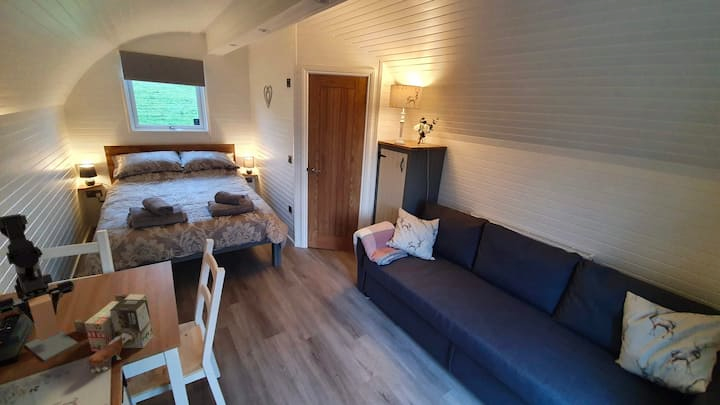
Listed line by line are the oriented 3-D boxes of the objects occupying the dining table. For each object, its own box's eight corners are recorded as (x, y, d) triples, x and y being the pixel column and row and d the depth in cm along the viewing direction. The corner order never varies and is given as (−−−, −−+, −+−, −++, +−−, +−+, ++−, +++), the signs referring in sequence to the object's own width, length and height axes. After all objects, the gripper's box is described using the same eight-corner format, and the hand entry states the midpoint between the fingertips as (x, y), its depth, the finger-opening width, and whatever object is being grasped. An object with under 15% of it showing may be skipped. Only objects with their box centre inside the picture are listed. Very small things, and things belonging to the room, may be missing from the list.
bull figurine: (137, 350, 110) (133, 331, 107) (95, 379, 97) (90, 358, 95) (128, 346, 111) (124, 327, 108) (86, 375, 99) (80, 354, 96)
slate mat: (25, 345, 108) (25, 344, 108) (58, 330, 116) (58, 329, 116) (44, 361, 103) (44, 359, 103) (78, 343, 111) (77, 342, 110)
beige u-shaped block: (76, 331, 116) (73, 321, 115) (119, 302, 134) (117, 293, 132) (96, 334, 115) (94, 324, 114) (137, 305, 133) (135, 296, 131)
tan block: (37, 334, 108) (27, 299, 103) (56, 326, 111) (48, 293, 107) (40, 341, 105) (30, 306, 101) (60, 333, 109) (51, 299, 104)
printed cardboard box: (134, 313, 128) (129, 287, 124) (149, 313, 128) (145, 288, 125) (90, 352, 108) (83, 322, 104) (108, 353, 108) (102, 323, 104)
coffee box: (154, 336, 116) (148, 299, 112) (143, 348, 110) (136, 310, 106) (129, 335, 116) (122, 298, 111) (116, 348, 110) (108, 309, 105)
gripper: (-14, 280, 96) (1, 326, 93) (67, 260, 110) (81, 299, 107) (-9, 292, 103) (5, 335, 100) (66, 271, 117) (80, 308, 114)
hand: (44, 318), depth 105 cm, fingers closed on tan block, 5 cm apart
